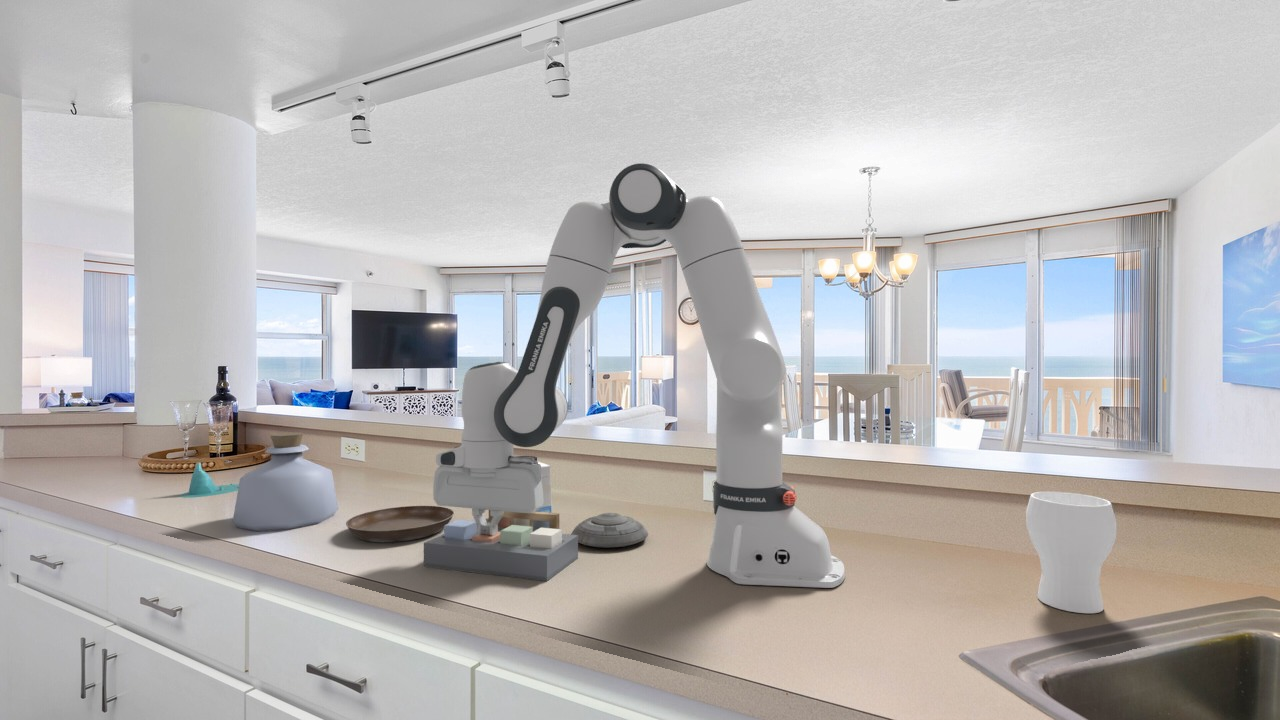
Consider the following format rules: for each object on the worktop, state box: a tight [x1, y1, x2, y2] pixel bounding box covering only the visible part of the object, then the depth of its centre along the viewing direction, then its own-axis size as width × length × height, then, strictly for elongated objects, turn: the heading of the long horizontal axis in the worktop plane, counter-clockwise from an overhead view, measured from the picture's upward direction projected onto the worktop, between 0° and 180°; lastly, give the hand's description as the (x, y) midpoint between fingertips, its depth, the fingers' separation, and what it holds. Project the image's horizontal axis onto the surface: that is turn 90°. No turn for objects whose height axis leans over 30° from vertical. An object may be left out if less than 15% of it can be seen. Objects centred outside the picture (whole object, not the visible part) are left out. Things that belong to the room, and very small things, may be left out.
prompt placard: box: [488, 510, 560, 531], centre depth 114 cm, size 14×1×7 cm, turn 72°
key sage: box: [500, 525, 533, 546], centre depth 106 cm, size 4×4×4 cm
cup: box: [1025, 491, 1117, 614], centre depth 89 cm, size 11×11×15 cm
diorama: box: [178, 462, 239, 499], centre depth 167 cm, size 12×20×9 cm, turn 158°
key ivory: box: [530, 528, 563, 549], centre depth 105 cm, size 4×4×4 cm
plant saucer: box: [345, 505, 455, 543], centre depth 127 cm, size 21×21×3 cm
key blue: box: [443, 519, 478, 540], centre depth 110 cm, size 4×4×4 cm
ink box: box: [537, 461, 552, 513], centre depth 138 cm, size 9×8×13 cm
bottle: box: [232, 432, 339, 532], centre depth 136 cm, size 20×20×19 cm
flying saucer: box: [570, 512, 649, 549], centre depth 120 cm, size 15×15×6 cm
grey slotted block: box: [423, 525, 579, 582], centre depth 107 cm, size 23×12×4 cm, turn 72°
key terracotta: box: [472, 532, 500, 543], centre depth 108 cm, size 4×4×4 cm
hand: (487, 534), depth 108 cm, fingers closed, pressing on key terracotta
